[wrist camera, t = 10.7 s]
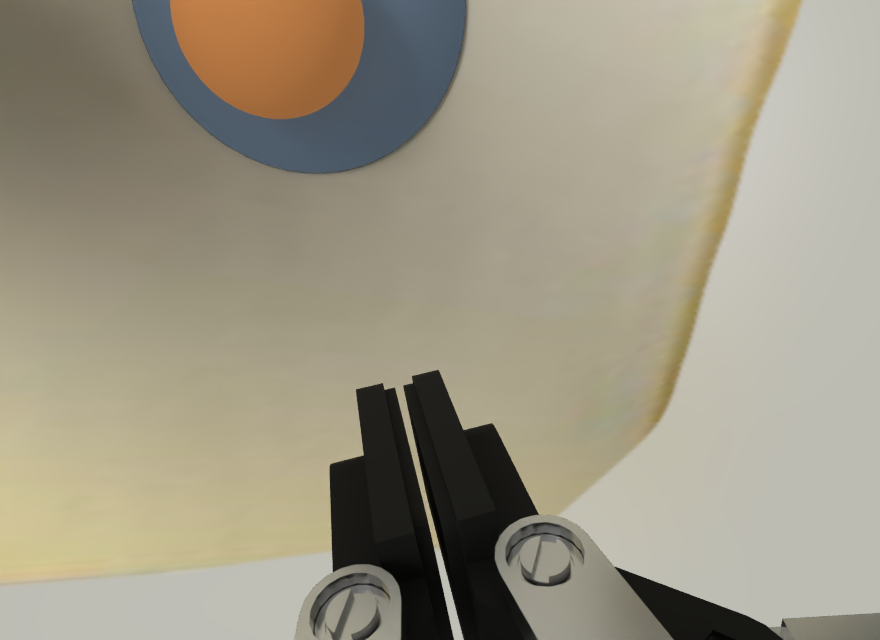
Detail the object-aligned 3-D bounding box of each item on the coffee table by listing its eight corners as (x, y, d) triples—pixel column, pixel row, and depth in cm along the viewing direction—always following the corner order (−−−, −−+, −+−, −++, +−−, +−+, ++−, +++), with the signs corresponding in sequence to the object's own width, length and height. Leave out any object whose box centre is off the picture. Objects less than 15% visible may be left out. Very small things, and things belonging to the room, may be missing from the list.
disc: (198, 197, 23) (197, 198, 23) (69, -178, 18) (66, -181, 17) (481, 143, 24) (482, 144, 24) (439, -220, 19) (440, -222, 19)
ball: (88, 14, 16) (174, -55, 19) (239, 178, 19) (285, 94, 23) (247, -108, 13) (308, -158, 17) (384, 109, 17) (408, 27, 21)
